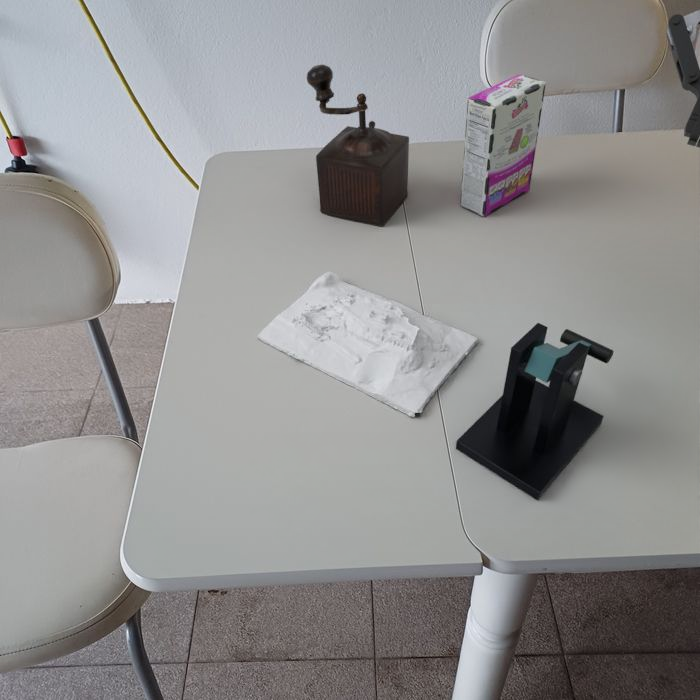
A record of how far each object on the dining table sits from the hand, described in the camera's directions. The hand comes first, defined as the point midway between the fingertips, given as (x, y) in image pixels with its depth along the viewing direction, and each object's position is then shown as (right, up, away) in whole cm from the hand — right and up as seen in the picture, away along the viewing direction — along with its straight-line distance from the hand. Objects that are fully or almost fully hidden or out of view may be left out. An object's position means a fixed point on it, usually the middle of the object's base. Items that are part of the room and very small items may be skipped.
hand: (696, 144), depth 56 cm
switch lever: (-10, -19, +5) cm, 22 cm away
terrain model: (-28, -17, +19) cm, 38 cm away
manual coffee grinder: (-30, +5, +43) cm, 52 cm away
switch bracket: (-12, -26, +7) cm, 30 cm away
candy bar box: (-8, +5, +41) cm, 42 cm away
